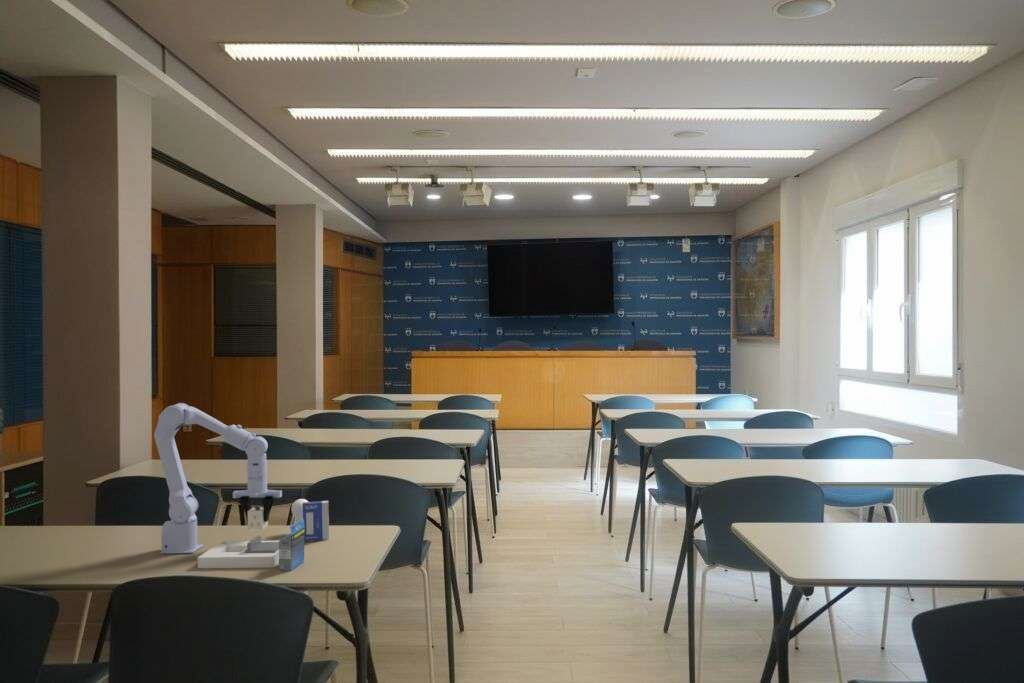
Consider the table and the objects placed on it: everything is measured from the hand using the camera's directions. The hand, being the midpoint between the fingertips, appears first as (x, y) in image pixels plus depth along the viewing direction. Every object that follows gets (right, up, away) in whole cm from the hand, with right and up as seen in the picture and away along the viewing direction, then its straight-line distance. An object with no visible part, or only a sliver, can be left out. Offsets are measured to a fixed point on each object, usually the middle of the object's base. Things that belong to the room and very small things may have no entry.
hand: (257, 521), depth 227 cm
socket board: (+1, -8, -14) cm, 16 cm away
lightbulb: (+9, -7, +14) cm, 18 cm away
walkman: (+16, -7, +6) cm, 19 cm away
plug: (0, -2, 0) cm, 2 cm away
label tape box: (+17, -8, -21) cm, 28 cm away
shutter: (+7, -4, -14) cm, 16 cm away
